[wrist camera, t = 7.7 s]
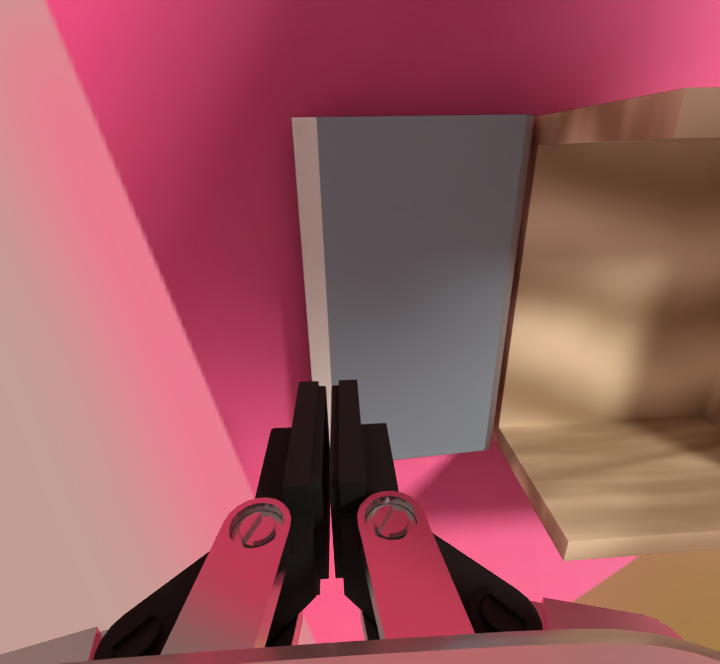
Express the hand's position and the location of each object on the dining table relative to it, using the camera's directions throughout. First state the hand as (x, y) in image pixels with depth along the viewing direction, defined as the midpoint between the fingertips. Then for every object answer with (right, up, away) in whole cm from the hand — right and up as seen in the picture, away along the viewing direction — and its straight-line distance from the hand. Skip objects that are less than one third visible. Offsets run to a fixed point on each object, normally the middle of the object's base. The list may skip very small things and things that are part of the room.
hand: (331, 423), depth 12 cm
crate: (+16, +5, +11) cm, 20 cm away
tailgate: (+8, +4, +10) cm, 13 cm away
